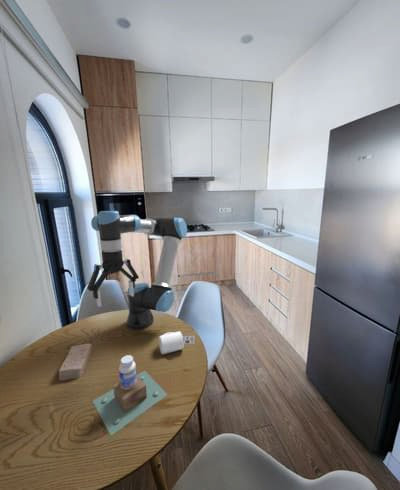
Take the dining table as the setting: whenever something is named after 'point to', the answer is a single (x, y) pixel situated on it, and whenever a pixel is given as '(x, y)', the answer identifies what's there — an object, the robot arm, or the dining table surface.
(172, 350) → the mug
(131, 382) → the pill bottle
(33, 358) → the dining table surface
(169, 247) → the robot arm
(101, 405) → the build board
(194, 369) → the dining table surface
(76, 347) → the brick
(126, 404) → the walnut block
